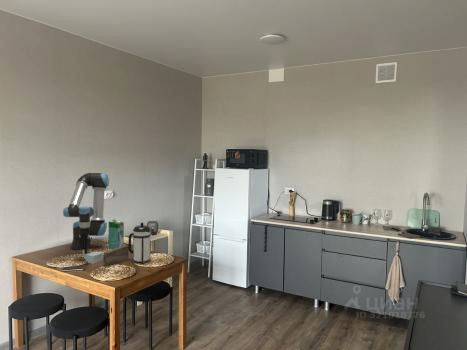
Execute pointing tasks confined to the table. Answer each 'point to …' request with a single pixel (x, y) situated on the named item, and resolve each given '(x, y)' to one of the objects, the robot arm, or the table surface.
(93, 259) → the block
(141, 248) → the coffee press
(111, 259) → the board
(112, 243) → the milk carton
